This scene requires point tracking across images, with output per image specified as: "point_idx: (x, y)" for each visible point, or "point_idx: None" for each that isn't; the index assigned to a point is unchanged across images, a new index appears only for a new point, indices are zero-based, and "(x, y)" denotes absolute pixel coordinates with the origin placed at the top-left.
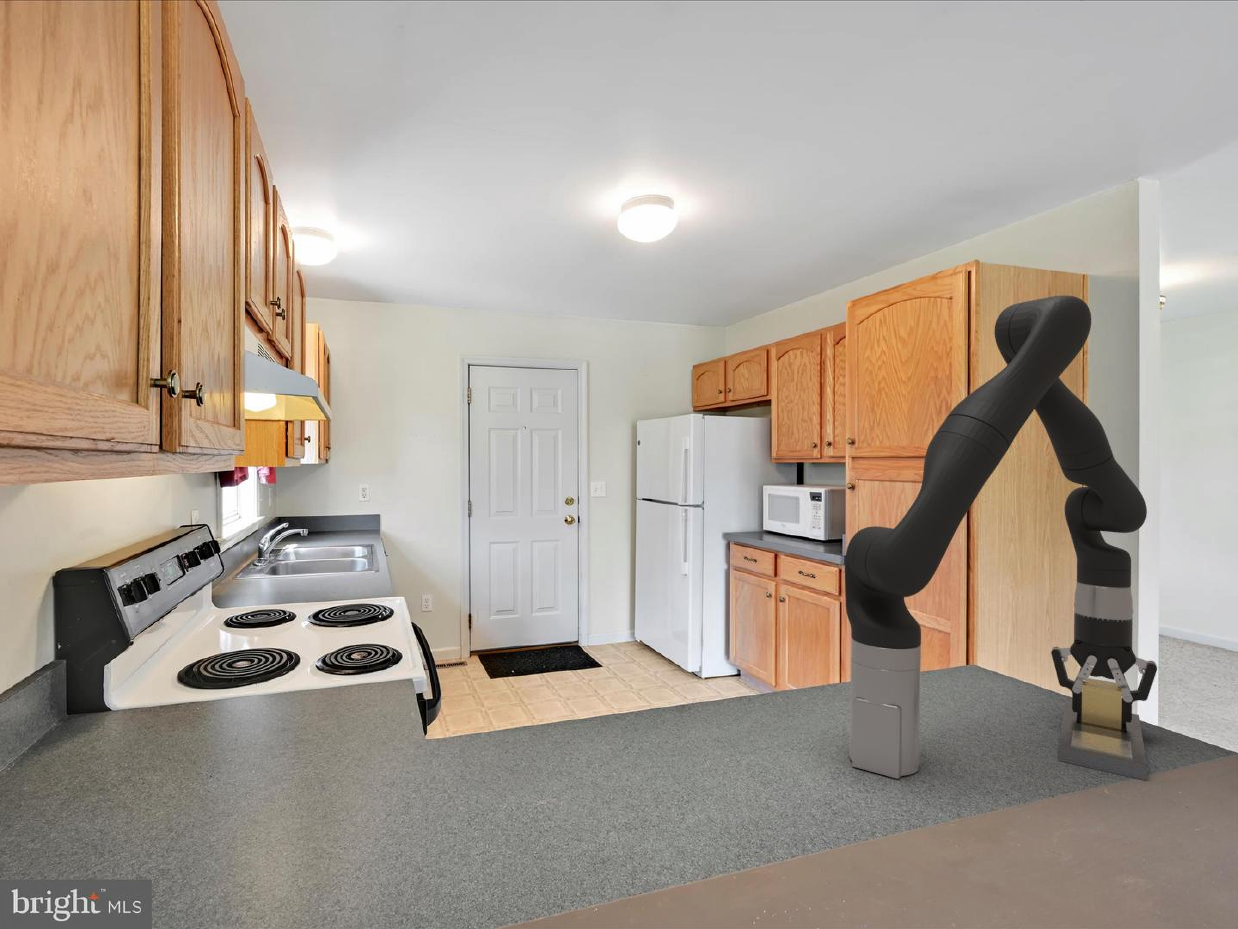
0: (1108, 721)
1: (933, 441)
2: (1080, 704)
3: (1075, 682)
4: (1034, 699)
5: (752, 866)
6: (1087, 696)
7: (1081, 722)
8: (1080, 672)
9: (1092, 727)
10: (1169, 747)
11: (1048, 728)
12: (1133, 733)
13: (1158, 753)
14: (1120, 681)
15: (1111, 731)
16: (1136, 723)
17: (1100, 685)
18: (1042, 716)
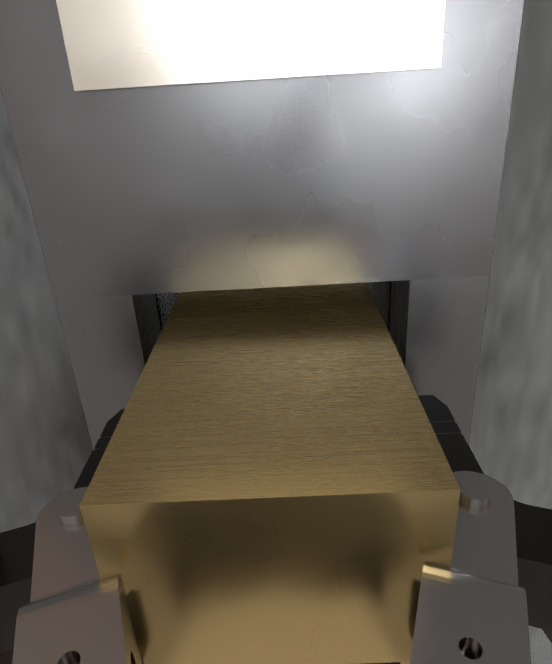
0: (229, 336)
1: None
2: None
3: (513, 550)
4: (543, 648)
5: None
6: (382, 417)
7: None
8: (530, 658)
9: (317, 259)
10: (6, 413)
11: (523, 302)
12: (102, 315)
13: (20, 291)
14: (66, 639)
15: (210, 259)
16: None
17: (285, 579)
18: (533, 465)
